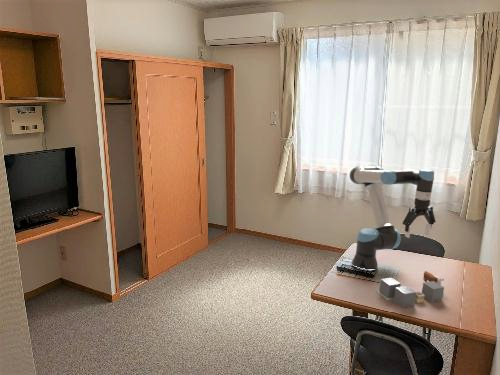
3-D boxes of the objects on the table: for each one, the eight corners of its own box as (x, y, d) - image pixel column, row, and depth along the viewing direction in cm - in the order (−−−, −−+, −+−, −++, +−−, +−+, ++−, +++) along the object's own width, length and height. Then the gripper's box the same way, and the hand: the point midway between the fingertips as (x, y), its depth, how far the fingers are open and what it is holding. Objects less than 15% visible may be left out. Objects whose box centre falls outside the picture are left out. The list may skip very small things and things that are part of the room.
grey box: (387, 298, 199) (389, 285, 197) (379, 291, 206) (381, 279, 204) (398, 296, 202) (400, 283, 200) (390, 290, 208) (391, 277, 206)
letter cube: (411, 299, 200) (413, 291, 199) (418, 298, 202) (419, 290, 201) (417, 303, 197) (418, 295, 196) (423, 302, 198) (424, 294, 197)
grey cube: (421, 295, 204) (423, 282, 202) (431, 293, 206) (433, 281, 205) (431, 302, 198) (433, 289, 196) (441, 300, 200) (444, 287, 198)
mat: (376, 291, 206) (376, 291, 206) (390, 289, 209) (390, 288, 209) (387, 300, 198) (387, 299, 198) (401, 297, 201) (401, 297, 201)
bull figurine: (437, 293, 206) (439, 280, 204) (420, 282, 219) (422, 268, 217) (444, 293, 208) (446, 279, 206) (426, 281, 220) (429, 268, 218)
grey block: (393, 300, 198) (395, 287, 196) (404, 298, 201) (406, 285, 199) (402, 307, 192) (404, 294, 190) (414, 305, 194) (416, 292, 192)
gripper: (408, 201, 197) (403, 240, 202) (446, 199, 205) (440, 236, 210) (398, 198, 204) (393, 235, 209) (435, 195, 212) (430, 231, 217)
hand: (417, 235), depth 210 cm, fingers open, 13 cm apart
